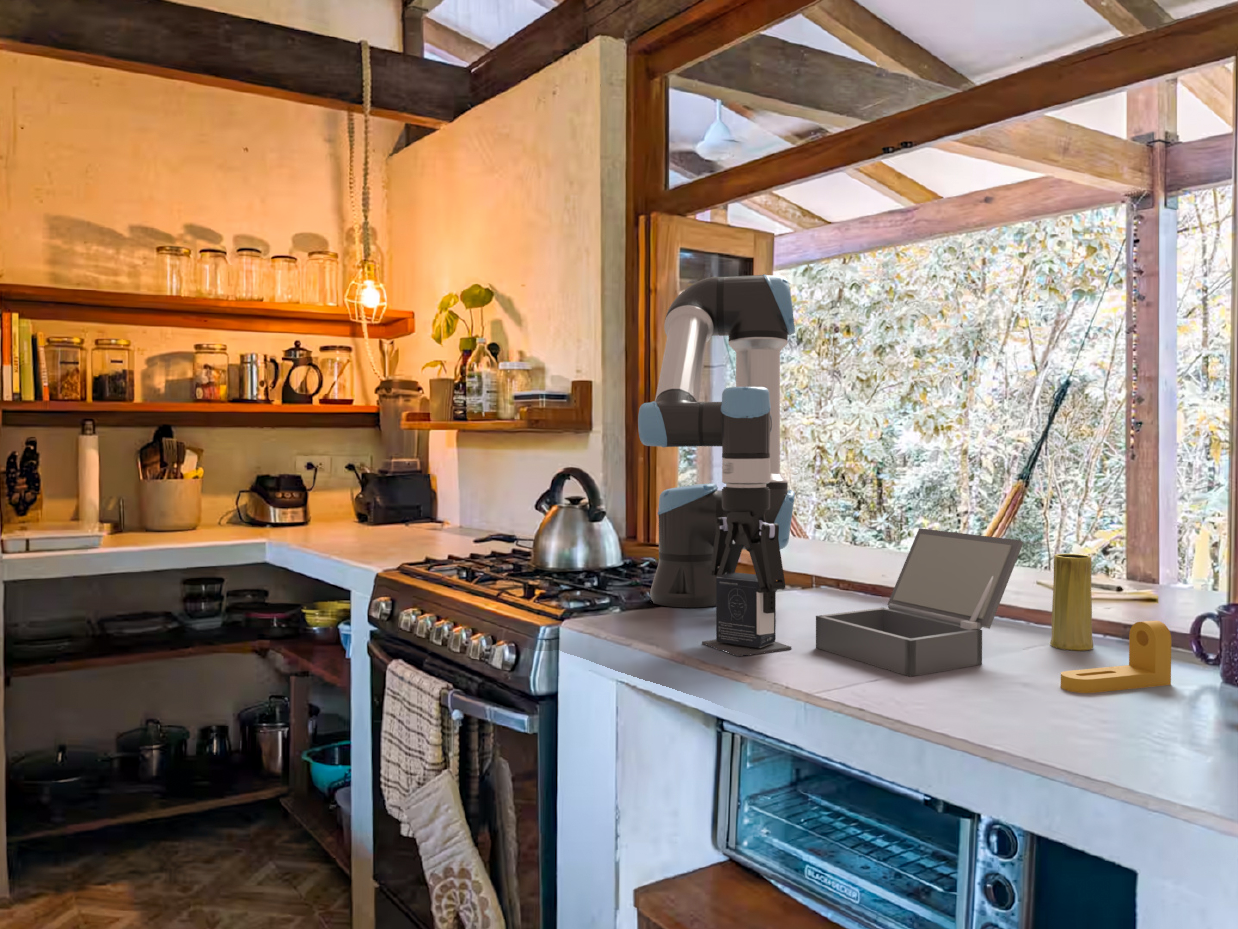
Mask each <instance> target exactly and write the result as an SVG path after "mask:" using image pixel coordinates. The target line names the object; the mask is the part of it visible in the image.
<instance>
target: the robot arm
mask: <svg viewBox="0 0 1238 929" xmlns="http://www.w3.org/2000/svg"><path fill="white" fill-rule="evenodd" d="M791 294H792V293H791V288H790V283H789V281H788V279H787V278H786V277H785V276H783V275H772V274H771V275H769V274H766V273H765V274H758V275H756V274H755V275H754V274H753V275H739V276H738V275H736V276H734V275H733V276H712V277H706V278H702V279H700V280H698V281H696V282H693V283H692V284H691V285H689V286H688V287H686V288H685V289H684V290H683V291H682V292H680V293H679V294H678V295H677V297H676V298H674V300H673V302H672V303H671V304H670V306H669V307H668V309H667V312H666V315H665V319H664V326H663V329H664V333H665V336H666V342H665V346H664V352H663V358H662V361H661V362H662V363H661V368H660V372H659V378H658V384H657V387H656V388H657V389H656V393H655V399H654V401H653V400H652V401H651V402H644V403H642V404H641V405H640V407H639V409H638V410H639V411H638V414H637V415H638V417H637V426H638V427H637V428H638V436H639V440H640V442H641V444H642V445H643V446H647V447H662V448H675V447H676V448H678V447H679V448H681V447H682V448H683V447H685V448H686V447H691V448H692V447H722V449H721V450H722V453H721V458H722V459H721V462H722V463H721V464H722V465H721V482H722V483H723V484H726V485H725V486H723V488H722V489H721V490H719V487H718V485H717V483H716V482H715V483H714V482H710V483H698V484H691V485H684V486H677V487H671V488H667V489H664V490H663V491H662V492H661V493H660V494H659V497H658V511H657V516H658V565H657V567H656V571H655V573H654V577H653V580H652V584H651V588H650V590H649V592H650V593H649V598H650V597H651V599H652V601H653V604H655V605H659V606H665V607H672V608H705V607H715V606H716V577H717V576H721V575H724V574H728V573H732V572H734V573H736V569H737V567H738V564H739V562H740V561H739V560H740V558H741V554H742V552H743V551H747V552H748V553H749V555H750V559H751V562H752V566H753V569H754V573H755V574H756V576H757V580H758V583H759V586H760V588H759V589H758V590H757V634H758V635H763V634H771V633H774V613H775V593H777V591H778V590H781V589H785V588H786V581H785V580H786V579H785V573H784V568H783V567H784V566H783V561H782V555H781V554H782V552H781V550H783V549H785V548H786V547H787V546H788V544H789V541H790V533H791V527H792V519H793V513H794V512H793V511H794V505H795V497H796V493H795V491H794V490H792V489H789V488H788V487H789V486H788V485H789V484H788V482H789V481H788V480H787V479H786V478H785V477H784V476H783V475H782V473H781V463H780V462H781V453H780V452H781V451H780V450H781V445H780V444H781V443H780V442H781V439H780V438H781V417H780V416H781V413H780V412H781V408H780V407H781V404H780V403H781V400H780V399H781V397H780V396H781V389H780V388H781V385H780V384H781V382H780V381H781V378H780V377H781V357H780V356H781V351H782V350H783V349H784V348H785V347H787V345H788V343H789V340H788V336H792V335H793V334H795V332H796V327H795V318H794V309H793V302H792V296H791ZM715 336H720V337H722V336H725V337H728V345H729V347H731V349H733V351H735V386H732V387H731V386H730V387H727V388H726V387H725V388H724V389H723V391H722V394H721V401H699V400H700V394H701V387H702V378H703V371H704V364H705V356H706V349H707V343H708V342H709V341H710V339H711V337H715ZM766 581H767V584H766Z"/></svg>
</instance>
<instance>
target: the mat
mask: <svg viewBox="0 0 1238 929" xmlns="http://www.w3.org/2000/svg"><path fill="white" fill-rule="evenodd" d="M701 644H702V645H704V644H707V645H709V646H708V647H710V646H712V647H715V648H717V649H716V650H718V649H719V650H718V651H721V650H724V651H727V652H729V653H731V654H730V655H732V654H734V655H737V656H741V657H744V656H743V655H748V656H751V655H750V654H755V655H759V654H758V653H762V654H765V653H764V652H769V653H773V652H772V651H776V652H780V651H779V650H783V651H790V650H792V646H790V645H786V644H783V643H781V642H778V641H775V642H774V643H771V644H769V645H767V646H764V647H761V648H756V647H749V646H743V645H736V644H728V643H721V642H717V641H716V639H710V640H702V641H701ZM707 645H706V646H707ZM712 647H711V648H712ZM715 648H714V649H715ZM729 653H728V654H729ZM734 655H733V656H734ZM737 656H736V657H737Z"/></svg>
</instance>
